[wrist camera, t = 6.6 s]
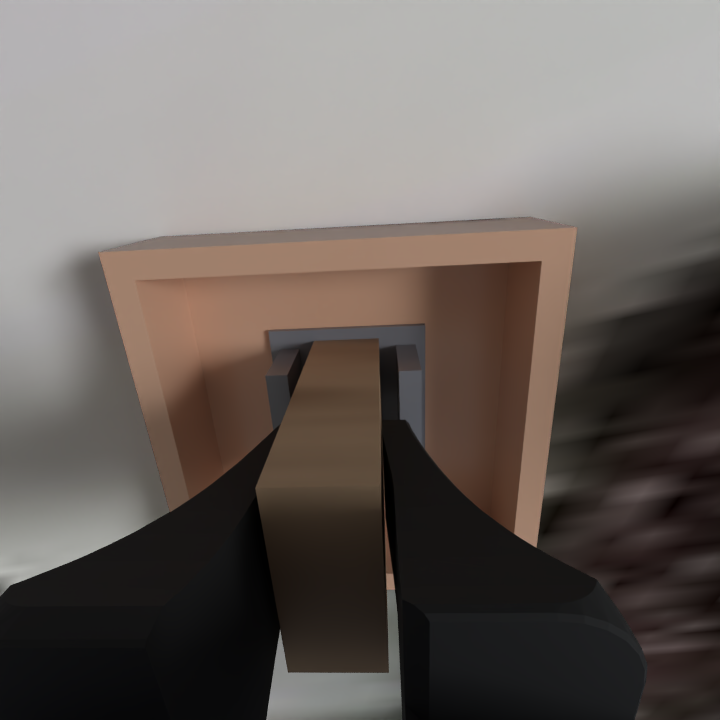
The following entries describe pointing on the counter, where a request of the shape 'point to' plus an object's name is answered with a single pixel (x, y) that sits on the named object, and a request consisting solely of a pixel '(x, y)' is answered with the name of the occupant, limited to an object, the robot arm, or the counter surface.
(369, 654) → the tall brown plank
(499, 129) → the counter surface
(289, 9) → the counter surface
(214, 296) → the shallow square frame box
